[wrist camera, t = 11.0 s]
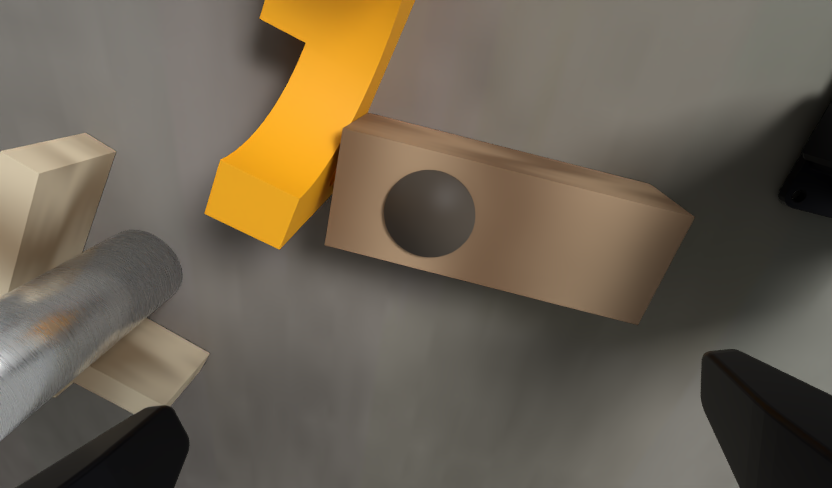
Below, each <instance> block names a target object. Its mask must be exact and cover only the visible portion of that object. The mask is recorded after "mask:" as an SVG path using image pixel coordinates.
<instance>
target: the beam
mask: <svg viewBox="0 0 832 488" xmlns="http://www.w3.org/2000/svg"><path fill="white" fill-rule="evenodd" d="M694 218H695V217H694V216H693V215H691V214H690V213H689V212H687V211H686V210H685V209H683V208H682V207H681V206H679V205H678V204H676V203H675V202H674V201H672V200H671V199H670V198H668V197H667V196H666V195H664V194H663V193H662V192H660V191H659V190H658V189H656V188H655V187H653V186H652V185H651V184H648V183H644V182H640V181H636V180H632V179H628V178H624V177H620V176H616V175H612V174H609V173H605V172H601V171H597V170H593V169H589V168H585V167H581V166H577V165H573V164H569V163H565V162H561V161H557V160H553V159H549V158H545V157H541V156H537V155H533V154H529V153H525V152H521V151H517V150H513V149H510V148H506V147H502V146H498V145H494V144H490V143H486V142H482V141H478V140H474V139H470V138H466V137H462V136H458V135H454V134H450V133H446V132H442V131H438V130H434V129H430V128H426V127H422V126H418V125H414V124H411V123H407V122H403V121H399V120H395V119H391V118H387V117H383V116H379V115H375V114H371V113H367V114H365V115H363V116H362V117H360V118H358V119H357V120H355V121H353V122H352V123H350V124H349V125H347V126H345V127H344V128H343V130H342V136H341V143H340V149H339V156H338V162H337V169H336V175H335V181H334V188H333V194H332V201H331V207H330V214H329V220H328V226H327V233H326V239H325V245H326V246H330V247H334V248H338V249H342V250H346V251H350V252H354V253H357V254H361V255H365V256H369V257H373V258H377V259H381V260H385V261H389V262H393V263H397V264H401V265H404V266H408V267H412V268H416V269H420V270H424V271H428V272H432V273H436V274H440V275H444V276H448V277H451V278H455V279H459V280H463V281H467V282H471V283H475V284H479V285H483V286H487V287H491V288H495V289H498V290H502V291H506V292H510V293H514V294H518V295H522V296H526V297H530V298H534V299H538V300H541V301H545V302H549V303H553V304H557V305H561V306H565V307H569V308H573V309H577V310H581V311H585V312H588V313H592V314H596V315H600V316H604V317H608V318H612V319H616V320H620V321H624V322H628V323H632V324H635V325H638V324H639V322H640V320H641V319H642V317H643V315H644V313H645V311H646V309H647V307H648V305H649V303H650V301H651V300H652V298H653V296H654V294H655V292H656V290H657V288H658V286H659V284H660V283H661V281H662V279H663V277H664V275H665V273H666V271H667V269H668V267H669V265H670V264H671V262H672V260H673V258H674V256H675V254H676V252H677V250H678V248H679V246H680V245H681V243H682V241H683V239H684V237H685V235H686V233H687V231H688V229H689V227H690V226H691V224H692V222H693V220H694Z"/></svg>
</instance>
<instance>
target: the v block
mask: <svg viewBox="0 0 832 488" xmlns="http://www.w3.org/2000/svg"><path fill="white" fill-rule="evenodd" d="M115 153H116V151H114V150H113V149H111V148H110V147H108V146H106V145H105V144H103V143H101V142H100V141H98V140H96V139H95V138H93V137H91V136H90V135H88V134H87V133H83V134H78V135H73V136H69V137H64V138H59V139H55V140H50V141H45V142H41V143H36V144H31V145H27V146H22V147H17V148H13V149H8V150H3V151H1V153H0V297H1V296H2V295H4V294H6V293H8V292H10V291H12V290H14V289H16V288H17V287H19V286H21V285H23V284H25V283H27V282H29V281H30V280H32V279H34V278H36V277H38V276H40V275H42V274H44V273H45V272H47V271H49V270H51V269H53V268H55V267H57V266H58V265H60V264H62V263H64V262H66V261H68V260H70V259H72V258H73V257H75V256H77V255H79V254H81V253H82V252H83V249H84V246H85V243H86V240H87V237H88V234H89V231H90V228H91V225H92V222H93V219H94V216H95V213H96V210H97V207H98V204H99V201H100V198H101V195H102V192H103V189H104V186H105V183H106V180H107V177H108V174H109V171H110V168H111V165H112V162H113V159H114V156H115ZM209 354H210V353H208V352H207V351H205V350H203V349H201V348H200V347H198V346H196V345H194V344H192V343H191V342H189V341H187V340H185V339H183V338H182V337H180V336H178V335H176V334H175V333H173V332H171V331H169V330H167V329H166V328H164V327H162V326H160V325H158V324H157V323H155V322H153V321H151V320H150V319H148V318H145V319H144V320H143V321H142V322H141V323H140V324H138V325H137V326H136V327H135V328H134V329H132V330H131V331H130V332H129V333H128V334H127V335H125V336H124V337H123V338H122V339H121V340H119V341H118V342H117V343H116V344H115V345H114V346H112V347H111V348H110V349H109V350H108V351H106V352H105V353H104V354H103V355H102V356H101V357H99V358H98V359H97V360H96V361H95V362H93V363H92V364H91V365H90V366H89V367H88V368H86V369H85V370H84V371H83V372H82V373H80V374H79V375H78V376H77V377H76V378H75V379H73V380H72V381H71V382H70V383H69V384H67V385H66V386H65V387H64V388H63V389H61V390H60V391H59V392H58V393H57V394H56V395H54V396H53V397H57V396H58V395H59V394H60V393H62V392H63V391H64V390H65V389H66V388H68V387H69V386H70V385H71V384H72V383H76V384H78V385H80V386H82V387H83V388H85V389H87V390H89V391H91V392H93V393H95V394H97V395H99V396H101V397H102V398H104V399H106V400H108V401H110V402H112V403H114V404H116V405H118V406H119V407H121V408H123V409H125V410H127V411H129V412H131V413H133V414H136V413H137V412H139V411H141V410H142V409H144V408H147V407H151V406H160V405H167V406H171V405H172V404H173V403H174V402H175V400H176V399H177V398H178V397H179V396H180V394H181V393H182V392H183V391H184V390H185V388H186V387H187V386H188V385H189V384H190V382H191V381H192V380H193V379H194V378H195V377H196V375H197V374H198V373H199V372H200V370H201V369H202V367H203V365H204V363H205V361H206V360H207V358H208V356H209ZM53 397H52V398H53Z"/></svg>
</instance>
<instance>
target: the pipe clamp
mask: <svg viewBox="0 0 832 488" xmlns="http://www.w3.org/2000/svg"><path fill="white" fill-rule="evenodd" d="M414 2H415V0H265V2H264V5H263V9H262V12H261V15H260V18H259V19H261V20H263V21H265V22H267V23H269V24H271V25H273V26H274V27H276V28H278V29H280V30H282V31H284V32H286V33H288V34H290V35H292V36H294V37H295V38H297V39H299V40H301V41H303V42H305V43H306V44H305V46H304V49H303V51H302V54H301V56H300V58H299V61H298V63H297V65H296V67H295V69H294V72H293V74H292V76H291V78H290V80H289V82H288V84H287V85H286V87H285V89H284V91H283V93H282V94H281V96H280V98H279V99H278V101H277V103H276V104H275V106H274V107H273V109H272V110H271V112H270V113H269V115H268V116H267V118H266V119H265V120H264V122H263V123H262V124H261V125H260V127H259V128H258V129H257V130H256V132H255V133H254V134H253V135H252V136H251V137H250V138H249V139H248V140H247V141H246V142H245V143H244V144H243V145H242V146H240V147H239V148H238V149H237V150H236V151H234V152H233V153H231V154H230V155H228V156H227V157H225V158H223V159H221V160H220V163H219V166H218V169H217V173H216V176H215V179H214V183H213V186H212V190H211V193H210V196H209V200H208V203H207V207H206V210H205V213H204V214H206V215H208V216H210V217H212V218H214V219H216V220H219V221H221V222H223V223H225V224H227V225H229V226H231V227H233V228H235V229H237V230H239V231H242V232H244V233H246V234H248V235H250V236H252V237H254V238H256V239H258V240H260V241H262V242H265V243H267V244H269V245H271V246H273V247H275V248H277V249H279V250H280V249H281V248H282V246H283V245H284V244H285V243H286V242H287V241H288V240H289V239H290V238H291V237H292V236H293V235H294V234H295V233H296V232H297V231H298V230H299V228H300V227H301V226H302V225H303V224H304V223H305V222H306V221H307V220H308V219H309V218H310V217H311V216H312V215H313V214H314V213H315V212H316V210H317V209H318V208H319V207H320V206H321V205H322V204H323V203H324V202H325V201H326V200H327V199H328V198H329V197H330V196H331V195H332V194H333V188H334V181H335V175H336V169H337V162H338V156H339V149H340V143H341V136H342V130H343V128H344V127H345V126H347V125H349V124H350V123H352V122H353V121H355V120H357V119H358V118H360V117H362V116H363V115H365V114H367V112H368V110H369V108H370V105H371V103H372V101H373V98H374V96H375V94H376V91H377V89H378V87H379V84H380V82H381V80H382V77H383V75H384V73H385V70H386V68H387V65H388V63H389V61H390V58H391V56H392V54H393V51H394V49H395V47H396V44H397V42H398V40H399V37H400V35H401V33H402V30H403V28H404V26H405V23H406V21H407V19H408V16H409V14H410V11H411V9H412V7H413V4H414Z"/></svg>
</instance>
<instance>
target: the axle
mask: <svg viewBox="0 0 832 488" xmlns="http://www.w3.org/2000/svg"><path fill="white" fill-rule="evenodd" d="M181 282H182V269H181V265H180V263H179V260H178V258H177V257H176V255H175V253H174V252H173V251H172V250H171V248H170V247H169V246H168V245H167V244H166V243H164V242H163V241H162V240H161V239H159V238H157V237H156V236H154V235H152V234H149V233H147V232H143V231H139V230H127V231H123V232H120V233H118V234H116V235H114V236H113V237H111V238H109V239H107V240H105V241H103V242H101V243H99V244H98V245H96V246H94V247H92V248H90V249H88V250H86V251H85V252H83V253H81V254H79V255H77V256H75V257H73V258H72V259H70V260H68V261H66V262H64V263H62V264H60V265H58V266H57V267H55V268H53V269H51V270H49V271H47V272H45V273H44V274H42V275H40V276H38V277H36V278H34V279H32V280H30V281H29V282H27V283H25V284H23V285H21V286H19V287H17V288H16V289H14V290H12V291H10V292H8V293H6V294H4V295H2V296H1V297H0V441H1V440H2V439H4V438H5V437H6V436H7V435H8V434H9V433H11V432H12V431H13V430H14V429H15V428H17V427H18V426H19V425H20V424H21V423H22V422H24V421H25V420H26V419H27V418H28V417H30V416H31V415H32V414H33V413H34V412H35V411H37V410H38V409H39V408H40V407H41V406H43V405H44V404H45V403H46V402H47V401H48V400H50V399H51V398H52V397H53V396H54V395H56V394H57V393H58V392H59V391H60V390H61V389H63V388H64V387H65V386H66V385H67V384H69V383H70V382H71V381H72V380H73V379H75V378H76V377H77V376H78V375H79V374H80V373H82V372H83V371H84V370H85V369H86V368H88V367H89V366H90V365H91V364H92V363H93V362H95V361H96V360H97V359H98V358H99V357H101V356H102V355H103V354H104V353H105V352H106V351H108V350H109V349H110V348H111V347H112V346H114V345H115V344H116V343H117V342H118V341H119V340H121V339H122V338H123V337H124V336H125V335H127V334H128V333H129V332H130V331H131V330H132V329H134V328H135V327H136V326H137V325H138V324H140V323H141V322H142V321H143V320H144V319H145V318H147V317H148V316H149V315H150V314H151V313H153V312H154V311H155V310H156V309H157V308H158V307H160V306H161V305H162V304H163V303H164V302H166V301H167V300H168V299H169V298H170V297H172V296H173V295H174V294H175V293H176V292H177V291H178V289H179V288H180V286H181Z"/></svg>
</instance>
